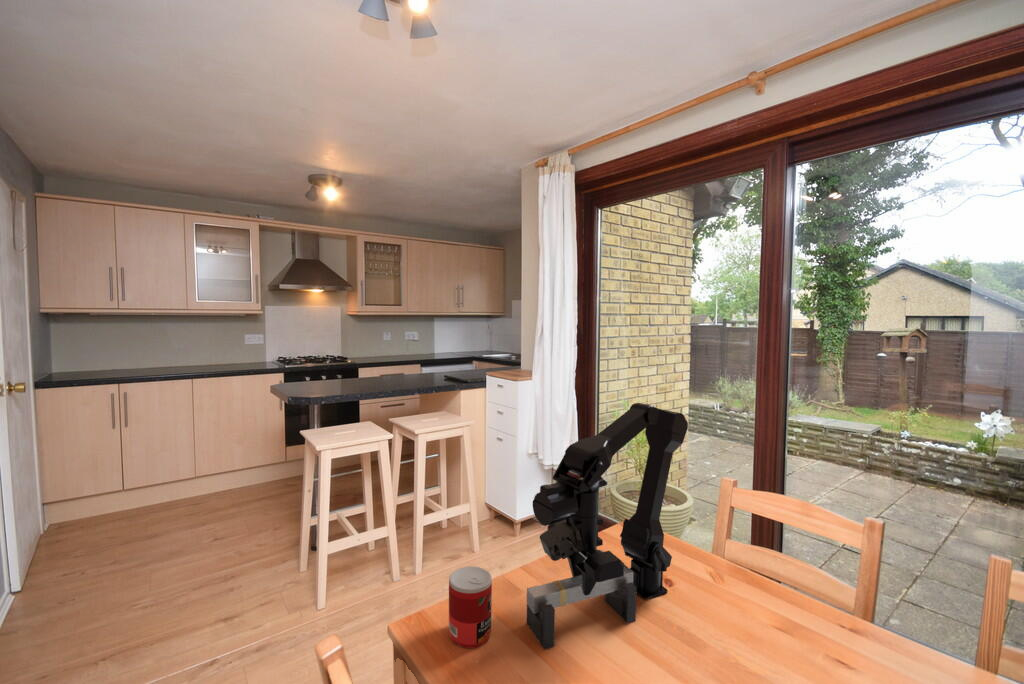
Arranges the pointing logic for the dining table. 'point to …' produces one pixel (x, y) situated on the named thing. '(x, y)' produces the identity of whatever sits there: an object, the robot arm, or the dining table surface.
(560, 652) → the dining table surface
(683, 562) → the dining table surface
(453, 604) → the canned food
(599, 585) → the grey metal bar
